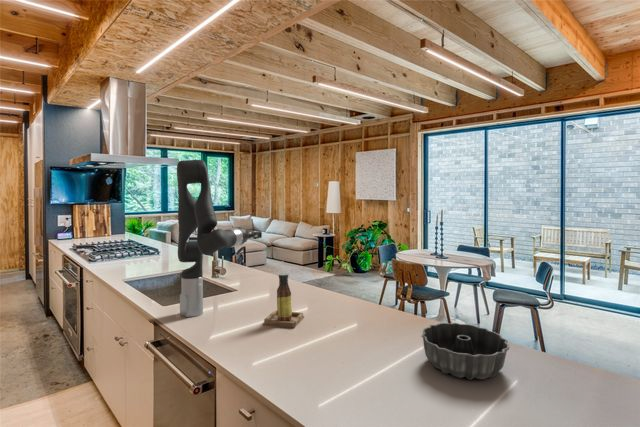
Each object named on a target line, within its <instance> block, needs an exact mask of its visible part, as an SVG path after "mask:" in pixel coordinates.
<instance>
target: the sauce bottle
mask: <svg viewBox="0 0 640 427" xmlns="http://www.w3.org/2000/svg"><path fill="white" fill-rule="evenodd" d="M288 278H289V274H288V273H283V272H282V273H279V274H278V282H279V283H278V284H279V285H278V287H277V290H276V306H277V308H276V310H277V315H278V320H281V321H288V320H290V319H291V317H292V316H291V315H292V312H293V311H292V308H293V306H292V292H291V291H292V290H291V289H290V285H289V282H288V281H289V279H288Z"/></svg>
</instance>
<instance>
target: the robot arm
mask: <svg viewBox="0 0 640 427" xmlns="http://www.w3.org/2000/svg"><path fill="white" fill-rule="evenodd" d="M176 179H177V191H178V192H177V193H178V194H177V195H178V197H177V198H178V203H177V205H178V206H177V219H178V220H177V221H178V225H177V226H178V240H177V242H178V243H177V258H178V261H179V262H180V263H194V264H193V265H192V266H190V267H188V268H185V269H183V270H181V274H180V275H181V277H180V278H181V280H180V281H181V285H180V286H181V293H179V315H180V316H183V317H185V318H191V317H197V316H201V315H203V313H204V288H203V286H204V285H203V284H204V282H203V281H204V280H203V278H204V277H203V273H204V272H203V270H204V269H203V259H204V256H209V255H212V254H214V253H215V252H218V251H220V250H221V249H228V248H229V249H230V248H235V247H239V246H242V245H243V244H245V243H246V242H247V241H248V240H258V239H262V238H263V234H262V233H263V232H262V231H261V230H257V231H254V230H245V228H244V227H241V226H236V227H231V228H227V229H221V228H216V227H217V225H218V220H217V215H216V212H215V209H214V204H213V200H212V191H211V184H210V177H209V171H208V167H207V164H206V162H205V161H204V160H203V159H188V160H187V159H183V160H180V161H178V162H177V165H176ZM191 184H200V192H199V195H198V197H197V199H195V197H194V196H193V195H192V194H191V192H190V190H189V189H188V185H191ZM196 230H197V233H196V234H197V235H196V236H197V237H196V241H188V240H189V238H190V236H192V235H193V233H194V232H196Z"/></svg>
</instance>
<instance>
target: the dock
mask: <svg viewBox="0 0 640 427" xmlns="http://www.w3.org/2000/svg"><path fill="white" fill-rule="evenodd" d="M291 316H292V317H291V319H290V320H288V321H281V320H278V315H277V309H276V310H275V311H272V312H271V313H270V314H269V315H268V316H266V317H265V318H264V319H263V324H262V325H263V326H269V327H270V326H271V327H279V328H287V329H290V328H291V329H295V328H296V327H297V326H298V325H299V324H300V323H301V322H302V320H304V318H305V315H304V312H296V311H292V315H291Z"/></svg>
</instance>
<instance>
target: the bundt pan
mask: <svg viewBox="0 0 640 427" xmlns="http://www.w3.org/2000/svg"><path fill="white" fill-rule="evenodd" d="M421 337H422V340H423V348H424V354H425V356H426V358H427V360H428V361H429V362H430V363H431V364H432V366H433V367H435V368H437V369H438V370H441V372H442V373H443V374H446V375H448V373H449V374H451V375H452V376H453V377H455V378H464V377H465V378H466V379H467V380H469V381H471V380H473V379H476V380H477V379H478V380H484V379H487V378H493V377H496V376H497V375H498V374H499V372H500V371H501V370H502V369H503V367H504V364H505V360H506V358H507V352H508V351H509V350H510V344H509V343H508V339H505V338H503V336H502V335H501V334H500V333H497V332H495V331H492V330H489V329H488V328H485V327H479V326H476V325H473V324H467V323H459V322H458V323H457V322H452V323H450V322H449V323H448V322H440V323H436V324H430V325H428V327H425V328H423V329H422V334H421Z"/></svg>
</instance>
